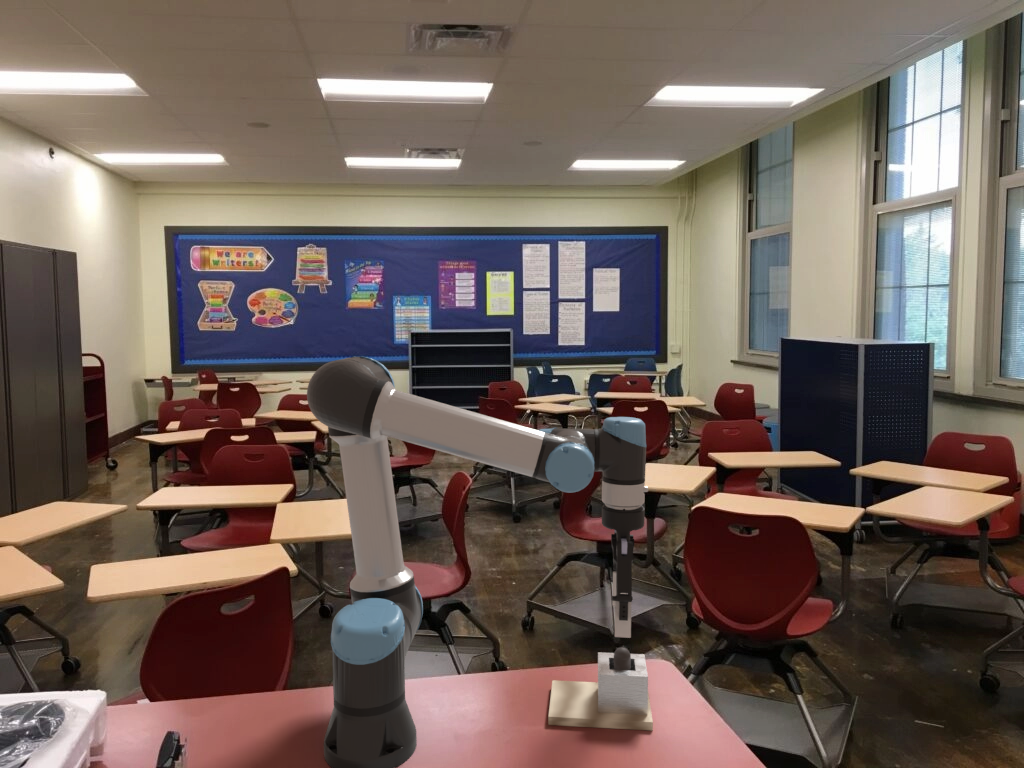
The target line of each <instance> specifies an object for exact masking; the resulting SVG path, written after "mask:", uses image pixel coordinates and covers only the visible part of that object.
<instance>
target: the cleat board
mask: <svg viewBox="0 0 1024 768" xmlns="http://www.w3.org/2000/svg"><path fill="white" fill-rule="evenodd" d="M613 653H614V670H630V671H631V655H630V654H631V653H630V650H628V649H627V648H626V647H622V646H621V647H620V646H619V647H617V648H616V649H615V651H614V652H613ZM550 689H551V691H550V700H549V707H548V708H549V709H548V717H547V718H548V719H547V720H548V723H547V724H548V726H562V727H580V728H599V729H614V730H615V729H617V730H620V729H621V730H635V731H637V730H639V731H653V729H654V727H653V726H654V722H653V715H652V714H653V713H652V708H651V701H650V696H649V695H650V694H649V692H648V715H635V714H616V713H598V681H597V682H595V681H573V680H556V679H554V680H553V679H552V681H551V688H550Z"/></svg>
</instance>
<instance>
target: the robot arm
mask: <svg viewBox="0 0 1024 768" xmlns="http://www.w3.org/2000/svg"><path fill="white" fill-rule="evenodd" d="M306 399H307V404H308V408H309V409H310V411H311V414H313V416H314V417H315V418H316V419H317V420H318V421H319V422H320V423H321V424H323V425H324V426H326V427H327V430H328V436H329V438H330V439H331V440H333V441H334V442H336V443H337V444H338V445H339V452H340V453H339V454H340V460H341V461H340V462H341V469H342V476H343V482H344V489H345V490H344V491H345V496H346V497H345V499H346V503H347V506H346V507H347V511H348V518H349V528H350V532H351V540H352V549H353V556H354V563H355V572H356V574H355V575H354V576H353V578H352V579H351V581H350V582H349V590H350V597H351V604H346V605H345V606H344V607H342V608H341V609H339V610H338V612H337V613H336V615H335V616H334V618H333V620H332V624H331V631H330V632H331V633H330V646H331V656H332V657H331V659H332V661H331V662H332V687H333V688H332V689H333V707H332V712H331V715H330V718H329V721H328V725H327V728H326V732H325V735H324V738H323V756H324V760H325V762H326V763H327V764H328V766H329V767H331V768H397V767H399V766H401V765H402V764H404V763H405V762H407V761H408V760H409V759H410V758H411V757H412V756H413V754H414V752H415V751H416V749H417V743H418V740H417V738H418V737H417V736H418V735H417V729H416V725H415V722H414V718H413V716H412V714H411V711H410V708H409V705H408V704H407V703H408V702H407V700H406V681H405V680H406V678H405V676H406V673H405V670H406V669H405V663H406V657H407V653H408V651H409V649H410V646H411V645H412V642H413V639H414V638H415V635H416V633H417V632H418V630H419V628H420V625H421V623H422V618H423V616H424V615H423V614H424V605H423V604H424V602H423V598H422V594H421V593H420V590H419V589H418V587H417V586H416V584H415V576H414V572H413V569H410V568H409V567H408V566H406V565H405V562H404V556H403V550H402V549H403V548H402V540H401V532H400V525H399V516H398V509H397V503H396V502H397V501H396V495H395V494H396V493H395V487H394V479H393V471H392V464H391V457H390V449H389V441H388V439H389V438H393V439H396V440H399V441H403V442H405V443H409V444H413V445H417V446H421V447H424V448H426V449H431V450H435V451H438V452H441V453H445V454H449V455H452V456H456V457H460V458H463V459H467V460H470V461H474V462H478V463H481V464H484V465H488V466H491V467H494V468H495V467H496V468H499V469H503V470H506V471H508V472H509V471H510V472H513V473H516V474H520V475H523V476H527V477H531V478H534V479H537V480H538V481H539V480H540V481H543V482H547V483H550V485H551V486H553V487H554V488H555V489H556V490H558V491H561V492H563V493H566V494H567V493H568V494H569V493H576V492H577V493H578V492H580V491H582V490H584V489H585V488H586V487H587V486H589V484H590V483H591V481H593V480H592V479H593V478H594V474H595V472H602V479H601V501H602V503H603V505H602V506H601V524H602V526H603V527H604V528H606V529H608V530H614V533H611V534H610V536H611V537H610V538H611V539H610V541H611V549H612V562H613V565H612V569H613V571H612V595H611V601H612V607H614V638H625V639H626V638H627V639H628V638H629V639H630V638H632V602H633V594H632V593H633V590H632V589H633V586H632V585H633V584H632V583H633V580H632V579H633V576H632V575H633V574H632V565H633V562H634V549H635V538H634V534H631V532H632V531H639V530H641V529H643V527H644V526H645V507H644V506H643V505H644V504H645V499H646V498H645V495H646V494H645V493H648V492H649V487H648V486H647V485H646V465H647V463H646V462H647V461H646V458H647V446H648V445H647V440H646V439H647V435H646V423H645V422H644V421H643V420H642V419H641V418H638V417H637V418H636V417H632V416H631V417H630V416H610V417H606V418H605V419H604V420H603V422H602V424H603V425H602V427H601V428H598V429H597V428H594V429H593V428H592V429H591V428H589V429H587V428H558V427H552V428H540V429H535V428H532V427H528V426H523V425H521V424H517V423H514V422H510V421H507V420H503V419H499V418H496V417H493V416H488V415H486V414H482V413H479V412H476V411H471V410H467V409H465V408H461V407H458V406H454V405H450V404H447V403H443V402H440V401H436V400H433V399H429V398H425V397H422V396H418V395H415V394H412V393H408V392H404V391H401V390H398V389H396V385H395V381H394V378H393V376H392V374H391V373H390V371H389V369H388V368H387V367H386V366H385V365H384V364H383V363H381V362H379V360H376V359H374V358H370V357H367V356H354V355H353V356H350V357H346V358H341V359H336V360H332V361H329V362H326V363H325V364H323V365H321V366H320V367H319V368H318V369H316V371H315V372H314V373H313V374H312V375H311V378H310V380H309V382H308V384H307V389H306ZM645 485H646V486H645Z"/></svg>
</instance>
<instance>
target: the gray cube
mask: <svg viewBox="0 0 1024 768" xmlns="http://www.w3.org/2000/svg"><path fill="white" fill-rule="evenodd" d="M630 655H631V671H630V670H614V652H602V651H601V652H597V682H598V713H616V714H635V715H648V693H649V675H648V674H649V673H648V670H647V669H648V668H647V663H646V656H645V654H643V653H630Z"/></svg>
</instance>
